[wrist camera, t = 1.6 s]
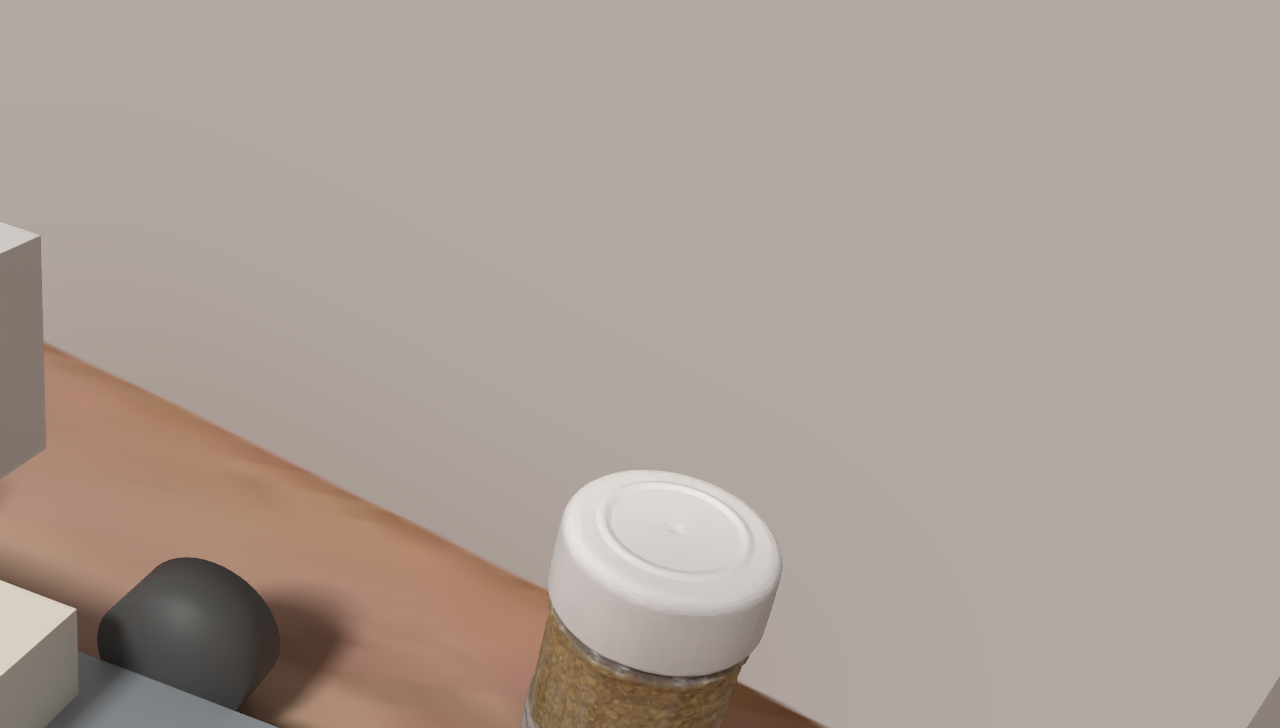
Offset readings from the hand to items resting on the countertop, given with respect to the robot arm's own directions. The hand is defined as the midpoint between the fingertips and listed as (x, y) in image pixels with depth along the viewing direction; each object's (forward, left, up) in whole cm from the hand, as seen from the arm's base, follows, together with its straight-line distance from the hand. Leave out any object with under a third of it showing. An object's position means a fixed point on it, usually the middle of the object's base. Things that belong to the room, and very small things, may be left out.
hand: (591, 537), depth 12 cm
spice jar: (0, -10, -20) cm, 22 cm away
